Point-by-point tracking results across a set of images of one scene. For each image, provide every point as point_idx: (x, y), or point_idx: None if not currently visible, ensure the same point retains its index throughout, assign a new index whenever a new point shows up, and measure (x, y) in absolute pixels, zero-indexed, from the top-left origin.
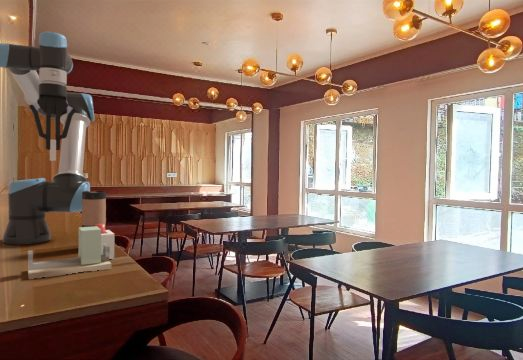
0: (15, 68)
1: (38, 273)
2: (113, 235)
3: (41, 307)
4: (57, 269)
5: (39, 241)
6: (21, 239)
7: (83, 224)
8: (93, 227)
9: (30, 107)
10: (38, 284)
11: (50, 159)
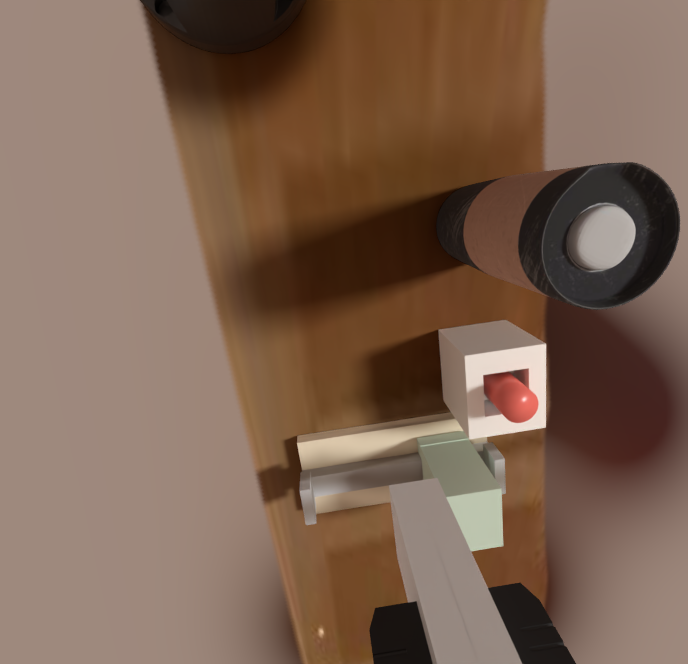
0: None
1: (329, 510)
2: (540, 425)
3: (349, 646)
4: (368, 499)
5: (279, 33)
6: (209, 44)
7: (469, 255)
8: (487, 508)
9: None
10: (333, 540)
11: (399, 564)
